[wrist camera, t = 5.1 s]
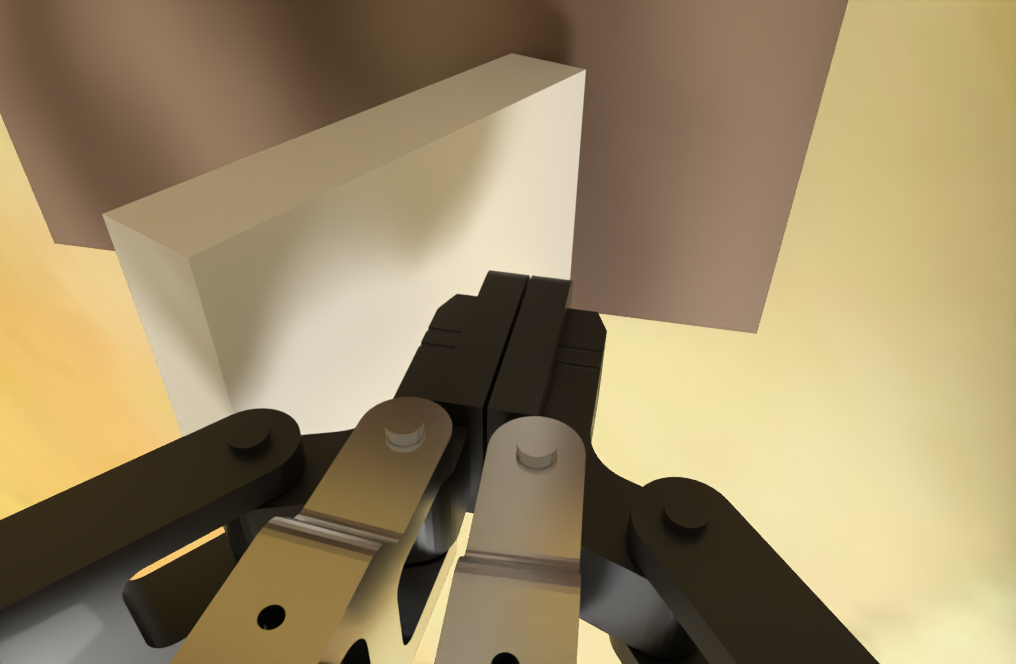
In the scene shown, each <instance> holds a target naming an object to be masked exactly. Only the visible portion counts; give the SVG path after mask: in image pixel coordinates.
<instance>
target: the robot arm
mask: <svg viewBox="0 0 1016 664" xmlns="http://www.w3.org/2000/svg"><path fill="white" fill-rule="evenodd" d="M572 290H573V281H572V280H566V279H558V278H550V277H542V276H534V275H532V276H531V279H530V275H525V274H517V273H509V272H501V271H493V270H489V271H488V273H487V275H486V277H485V279H484V282H483V284H482V286H481V289H480V291H479V293H478V296H471V295H464V294H456V295H455V296H453V297H452V298H451V299H449V300H448V301H447V302H445V303H444V304H443V305H441V306H440V307H439V308H438V309H437V311H436V313H435V315H434V317H433V319H432V321H431V323H430V325H429V327H428V331H426V333H425V335H424V337H423V339H422V341H421V346H419V347H418V349H417V351H416V353H415V355H414V357H413V359H412V361H411V363H410V365H409V367H408V369H407V371H406V373H405V375H404V377H403V379H402V382H401V384H400V386H399V388H398V390H397V392H396V394H395V396H394V398H393V399H390V400H387V401H384V402H382V403H379V404H377V405H376V406H374V407H373V408H371V409H370V410H369V411H367V412H366V413H365V414H364V416H363V417H362V418H361V419H360V421H359V423H358V424H357V426H356V427H355V428H353V429H349V430H345V431H338V432H327V433H316V434H305V435H301V432H300V428H299V425H298V424H297V422H296V421H295V420H294V419H293V418H292V417H291V416H290V415H288V414H286V413H285V412H282V411H279V410H275V409H268V408H256V409H249V410H244V411H241V412H237V413H235V414H232V415H230V416H228V417H225V418H223V419H221V420H219V421H217V422H214V423H212V424H210V425H208V426H206V427H203V428H201V429H199V430H197V431H195V432H193V433H190V434H188V435H186V436H184V437H182V438H179V439H177V440H175V441H173V442H171V443H168V444H166V445H164V446H162V447H160V448H157V449H155V450H153V451H151V452H149V453H146V454H144V455H142V456H140V457H138V458H136V459H133V460H131V461H129V462H127V463H125V464H122V465H120V466H118V467H116V468H114V469H111V470H109V471H107V472H105V473H103V474H100V475H98V476H96V477H94V478H92V479H89V480H87V481H85V482H83V483H81V484H79V485H76V486H74V487H72V488H70V489H68V490H65V491H63V492H61V493H59V494H57V495H54V496H52V497H50V498H48V499H46V500H43V501H41V502H39V503H37V504H35V505H32V506H30V507H28V508H26V509H24V510H22V511H19V512H17V513H15V514H13V515H11V516H8V517H6V518H4V519H2V520H0V664H412V663H413V660H414V657H415V654H416V651H417V649H418V647H419V644H420V642H421V639H422V637H423V634H424V632H425V629H426V627H427V624H428V622H429V619H430V617H431V614H432V612H433V610H434V607H435V605H436V602H437V600H438V597H439V595H440V592H441V590H442V587H443V585H444V582H445V580H446V577H447V575H448V573H449V570H450V568H451V565H452V563H453V560H454V558H455V555H456V551H457V537H458V534H459V532H460V528H461V525H462V522H463V519H464V516H465V513H466V512H469V513H474V515H473V520H472V525H471V530H470V534H469V539H468V544H467V549H466V553H465V556H464V557H462V556H461V557H459V559H458V561H457V564H456V567H455V571H454V575H453V579H452V584H451V589H450V593H449V598H448V603H447V607H446V612H445V616H444V621H443V626H442V630H441V635H440V639H439V644H438V649H437V653H436V658H435V662H434V664H577V646H578V628H579V618H580V619H582V620H584V621H586V622H588V623H589V624H591V625H593V626H595V627H597V628H598V629H600V630H602V631H604V632H606V633H608V634H609V637H610V641H611V644H612V647H613V649H614V651H615V653H616V655H617V656H618V658H619V659H620V661H621V663H622V664H879V662H878V661H877V660H876V659H875V658H874V657H873V656H872V655H871V654H870V653H869V652H868V651H867V650H866V648H865V647H864V646H863V645H862V644H861V643H860V642H859V641H858V640H857V639H856V638H855V637H854V636H853V634H852V633H851V632H850V631H849V630H848V629H847V628H846V627H845V626H844V625H843V624H842V623H841V622H840V620H839V619H838V618H837V617H836V616H835V615H834V614H833V613H832V612H831V611H830V610H829V609H828V608H827V606H826V605H825V604H824V603H823V602H822V601H821V600H820V599H819V598H818V597H817V596H816V595H815V594H814V592H813V591H812V590H811V589H810V588H809V587H808V586H807V585H806V584H805V583H804V582H803V581H802V580H801V578H800V577H799V576H798V575H797V574H796V573H795V572H794V571H793V570H792V569H791V568H790V567H789V566H788V564H787V563H786V562H785V561H784V560H783V559H782V558H781V557H780V556H779V555H778V554H777V553H776V552H775V551H774V549H773V548H772V547H771V546H770V545H769V544H768V543H767V542H766V541H765V540H764V539H763V538H762V537H761V535H760V534H759V533H758V532H757V531H756V530H755V529H754V528H753V527H752V526H751V525H750V524H749V523H748V521H747V520H746V519H745V518H744V517H743V516H742V515H741V514H740V513H739V512H738V511H737V510H736V509H735V507H734V506H733V505H732V504H731V503H730V502H729V501H728V500H727V499H726V498H725V497H724V496H723V495H722V494H721V493H719V492H718V491H716V490H715V489H714V488H712V487H710V486H708V485H706V484H704V483H702V482H699V481H696V480H692V479H689V478H682V477H667V478H661V479H657V480H654V481H652V482H650V483H648V484H646V485H645V486H644V487H642V486H639V485H637V484H635V483H633V482H631V481H628V480H626V479H624V478H622V477H620V476H618V475H617V474H615V473H614V472H612V471H611V470H609V469H608V468H607V467H606V466H605V465H604V464H603V463H602V462H601V461H600V459H599V458H598V457H597V455H596V453H595V452H594V449H593V447H592V444H591V442H592V435H593V429H594V423H595V416H596V410H597V403H598V397H599V389H600V381H601V373H602V365H603V358H604V350H605V342H606V334H607V330H606V328H605V326H604V324H603V322H602V320H601V318H600V316H599V314H598V312H594V311H586V310H579V309H571V302H572ZM222 526H223V527H224V530H225V533H223V534H221V535H220V536H218V537H216V538H214V539H212V540H210V541H208V542H207V543H205V544H203V545H201V546H199V547H197V548H196V549H194V550H192V551H190V552H188V553H186V554H185V555H183V556H181V557H179V558H177V559H175V560H173V561H172V562H170V563H168V564H166V565H164V566H162V567H161V568H159V569H157V570H155V571H153V572H151V573H150V574H148V575H146V576H144V577H142V578H139V579H135V580H130V579H131V578H132V577H133V576H134V575H135V574H136V573H138V572H139V571H140V570H142V569H144V568H145V567H147V566H149V565H151V564H153V563H155V562H156V561H158V560H160V559H162V558H164V557H166V556H168V555H169V554H171V553H173V552H175V551H177V550H179V549H181V548H183V547H184V546H186V545H188V544H190V543H192V542H194V541H196V540H197V539H199V538H201V537H203V536H205V535H207V534H209V533H210V532H212V531H214V530H216V529H218V528H220V527H222ZM129 580H130V581H129Z"/></svg>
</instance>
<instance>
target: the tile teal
mask: <svg viewBox="0 0 1016 664" xmlns="http://www.w3.org/2000/svg"><path fill="white" fill-rule="evenodd" d="M585 75H586V69H582V68H577V67H572V66H568V65H563V64H559V63H554V62H550V61H545V60H541V59H536V58H531V57H527V56H522V55H518V54H513V53H511V54H508V55H506V56H503V57H501V58H498V59H496V60H493V61H491V62H488V63H485V64H483V65H480V66H478V67H475V68H473V69H470V70H468V71H465V72H463V73H460V74H457V75H455V76H452V77H450V78H447V79H445V80H442V81H440V82H437V83H435V84H432V85H429V86H427V87H424V88H422V89H419V90H417V91H414V92H412V93H409V94H407V95H404V96H401V97H399V98H396V99H394V100H391V101H389V102H386V103H384V104H381V105H379V106H376V107H373V108H371V109H368V110H366V111H363V112H361V113H358V114H356V115H353V116H351V117H348V118H345V119H343V120H340V121H338V122H335V123H333V124H330V125H328V126H325V127H323V128H320V129H317V130H315V131H312V132H310V133H307V134H305V135H302V136H300V137H297V138H295V139H292V140H289V141H287V142H284V143H282V144H279V145H277V146H274V147H272V148H269V149H267V150H264V151H261V152H259V153H256V154H254V155H251V156H249V157H246V158H244V159H241V160H239V161H236V162H233V163H231V164H228V165H226V166H223V167H221V168H218V169H216V170H213V171H211V172H208V173H205V174H203V175H200V176H198V177H195V178H193V179H190V180H188V181H185V182H183V183H180V184H177V185H175V186H172V187H170V188H167V189H165V190H162V191H160V192H157V193H154V194H152V195H149V196H147V197H144V198H142V199H139V200H137V201H134V202H132V203H129V204H126V205H124V206H121V207H119V208H116V209H114V210H111V211H109V212H106V213H104V214H102V215H103V218H104V221H105V223H106V226H107V229H108V232H109V234H110V237H111V240H112V243H113V245H114V248H115V251H116V254H117V256H118V259H119V262H120V265H121V267H122V270H123V273H124V276H125V278H126V281H127V284H128V287H129V289H130V292H131V295H132V298H133V300H134V303H135V306H136V309H137V311H138V314H139V317H140V320H141V322H142V325H143V328H144V331H145V333H146V336H147V339H148V342H149V344H150V347H151V350H152V353H153V355H154V358H155V361H156V364H157V366H158V369H159V372H160V375H161V377H162V380H163V383H164V386H165V388H166V391H167V394H168V397H169V399H170V402H171V405H172V408H173V410H174V413H175V416H176V419H177V421H178V424H179V427H180V430H181V432H182V435H183V437H184V436H186V435H188V434H190V433H193V432H195V431H197V430H199V429H201V428H203V427H206V426H208V425H210V424H212V423H214V422H217V421H219V420H221V419H223V418H225V417H228V416H230V415H232V414H235V413H237V412H241V411H244V410H249V409H256V408H268V409H275V410H279V411H282V412H285V413H286V414H288V415H290V416H291V417H292V418H293V419H294V420H295V421H296V422H297V424H298V425H299V428H300V432H301V435H305V434H316V433H327V432H338V431H345V430H349V429H353V428H355V427H356V426H357V424H358V423H359V421H360V419H361V418H362V417H363V416H364V414H365V413H366V412H367V411H369V410H370V409H371V408H373V407H374V406H376V405H377V404H379V403H382V402H384V401H387V400H390V399H393V398H394V396H395V394H396V392H397V390H398V388H399V386H400V384H401V382H402V379H403V377H404V375H405V373H406V371H407V369H408V367H409V365H410V363H411V361H412V359H413V357H414V355H415V353H416V351H417V349H418V347H419V346H421V341H422V339H423V337H424V335H425V333H426V331H428V327H429V325H430V323H431V321H432V319H433V317H434V315H435V313H436V311H437V309H438V308H439V307H440V306H441V305H443V304H444V303H445V302H447V301H448V300H449V299H451V298H452V297H453V296H455V295H456V294H464V295H471V296H478V293H479V291H480V289H481V286H482V284H483V282H484V279H485V277H486V275H487V273H488V271H489V270H493V271H501V272H509V273H517V274H525V275H530V279H531V276H532V275H534V276H542V277H550V278H558V279H566V280H570V273H571V260H572V247H573V233H574V220H575V207H576V194H577V180H578V167H579V154H580V141H581V128H582V114H583V101H584V88H585Z"/></svg>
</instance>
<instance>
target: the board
mask: <svg viewBox="0 0 1016 664" xmlns="http://www.w3.org/2000/svg"><path fill="white" fill-rule="evenodd" d="M847 3H848V0H0V114H1V116H2V119H3V121H4V123H5V126H6V128H7V130H8V133H9V135H10V138H11V140H12V142H13V145H14V147H15V150H16V152H17V154H18V157H19V159H20V162H21V164H22V166H23V169H24V171H25V173H26V176H27V178H28V181H29V183H30V185H31V188H32V190H33V193H34V195H35V197H36V200H37V202H38V205H39V207H40V209H41V212H42V214H43V216H44V219H45V221H46V224H47V226H48V228H49V231H50V233H51V236H52V238H53V240H54V243H57V244H64V245H72V246H80V247H88V248H95V249H103V250H111V251H115V248H114V245H113V243H112V240H111V237H110V234H109V232H108V229H107V226H106V223H105V221H104V218H103V215H102V214H104V213H106V212H109V211H111V210H114V209H116V208H119V207H121V206H124V205H126V204H129V203H132V202H134V201H137V200H139V199H142V198H144V197H147V196H149V195H152V194H154V193H157V192H160V191H162V190H165V189H167V188H170V187H172V186H175V185H177V184H180V183H183V182H185V181H188V180H190V179H193V178H195V177H198V176H200V175H203V174H205V173H208V172H211V171H213V170H216V169H218V168H221V167H223V166H226V165H228V164H231V163H233V162H236V161H239V160H241V159H244V158H246V157H249V156H251V155H254V154H256V153H259V152H261V151H264V150H267V149H269V148H272V147H274V146H277V145H279V144H282V143H284V142H287V141H289V140H292V139H295V138H297V137H300V136H302V135H305V134H307V133H310V132H312V131H315V130H317V129H320V128H323V127H325V126H328V125H330V124H333V123H335V122H338V121H340V120H343V119H345V118H348V117H351V116H353V115H356V114H358V113H361V112H363V111H366V110H368V109H371V108H373V107H376V106H379V105H381V104H384V103H386V102H389V101H391V100H394V99H396V98H399V97H401V96H404V95H407V94H409V93H412V92H414V91H417V90H419V89H422V88H424V87H427V86H429V85H432V84H435V83H437V82H440V81H442V80H445V79H447V78H450V77H452V76H455V75H457V74H460V73H463V72H465V71H468V70H470V69H473V68H475V67H478V66H480V65H483V64H485V63H488V62H491V61H493V60H496V59H498V58H501V57H503V56H506V55H508V54H511V53H513V54H518V55H522V56H527V57H531V58H536V59H541V60H545V61H550V62H554V63H559V64H563V65H568V66H572V67H577V68H582V69H586V75H585V88H584V101H583V114H582V128H581V141H580V154H579V167H578V180H577V194H576V207H575V220H574V233H573V247H572V260H571V273H570V280H572V281H573V290H572V302H571V309H579V310H586V311H594V312H598V313H600V314H608V315H616V316H624V317H631V318H639V319H647V320H655V321H662V322H670V323H678V324H686V325H693V326H701V327H709V328H717V329H724V330H732V331H740V332H748V333H756V334H757V330H758V327H759V323H760V319H761V316H762V312H763V308H764V305H765V301H766V298H767V294H768V290H769V287H770V283H771V279H772V276H773V272H774V268H775V265H776V261H777V258H778V254H779V250H780V247H781V243H782V239H783V236H784V232H785V228H786V225H787V221H788V217H789V214H790V210H791V207H792V203H793V199H794V196H795V192H796V188H797V185H798V181H799V177H800V174H801V170H802V167H803V163H804V159H805V156H806V152H807V148H808V145H809V141H810V137H811V134H812V130H813V126H814V123H815V119H816V116H817V112H818V108H819V105H820V101H821V97H822V94H823V90H824V86H825V83H826V79H827V76H828V72H829V68H830V65H831V61H832V57H833V54H834V50H835V46H836V43H837V39H838V36H839V32H840V28H841V25H842V21H843V17H844V14H845V10H846V6H847Z"/></svg>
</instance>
